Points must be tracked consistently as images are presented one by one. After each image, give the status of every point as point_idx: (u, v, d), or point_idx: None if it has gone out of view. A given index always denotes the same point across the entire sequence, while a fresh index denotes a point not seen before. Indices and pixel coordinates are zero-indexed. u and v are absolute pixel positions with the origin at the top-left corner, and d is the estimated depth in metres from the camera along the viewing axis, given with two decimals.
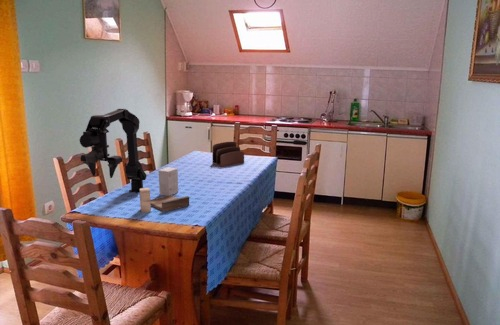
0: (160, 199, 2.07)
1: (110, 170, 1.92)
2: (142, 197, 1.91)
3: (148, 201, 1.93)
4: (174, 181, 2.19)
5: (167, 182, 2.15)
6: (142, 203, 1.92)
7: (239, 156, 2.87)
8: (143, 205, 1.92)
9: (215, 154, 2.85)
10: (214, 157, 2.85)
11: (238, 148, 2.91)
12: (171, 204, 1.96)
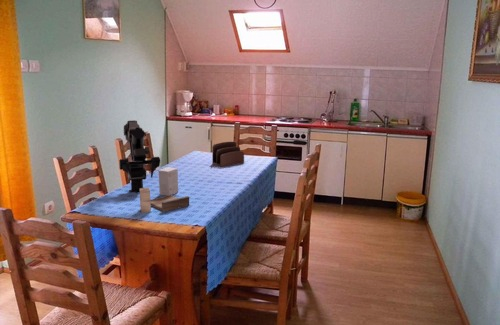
0: (160, 199, 2.07)
1: (152, 169, 2.02)
2: (142, 197, 1.91)
3: (148, 201, 1.93)
4: (174, 181, 2.19)
5: (167, 182, 2.15)
6: (142, 203, 1.92)
7: (239, 156, 2.88)
8: (143, 205, 1.92)
9: (215, 154, 2.86)
10: (214, 157, 2.86)
11: (238, 148, 2.92)
12: (171, 204, 1.96)
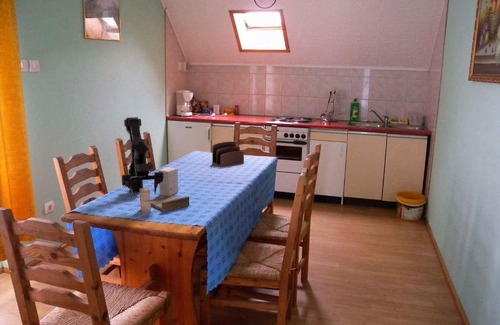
0: (160, 199, 2.07)
1: (155, 184, 1.96)
2: (142, 197, 1.91)
3: (148, 201, 1.93)
4: (174, 181, 2.19)
5: (167, 182, 2.15)
6: (142, 203, 1.92)
7: (239, 156, 2.88)
8: (143, 205, 1.92)
9: (215, 154, 2.86)
10: (214, 157, 2.86)
11: (238, 148, 2.92)
12: (171, 204, 1.96)
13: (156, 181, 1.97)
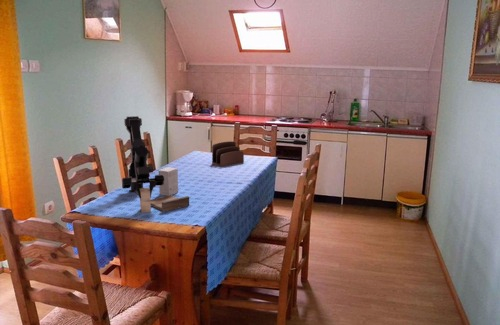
0: (160, 199, 2.07)
1: (151, 188, 1.95)
2: (142, 197, 1.91)
3: (148, 201, 1.93)
4: (174, 181, 2.19)
5: (167, 182, 2.15)
6: (142, 203, 1.92)
7: (239, 156, 2.88)
8: (143, 205, 1.92)
9: (215, 154, 2.86)
10: (214, 157, 2.86)
11: (237, 148, 2.92)
12: (171, 204, 1.96)
13: (151, 185, 1.95)
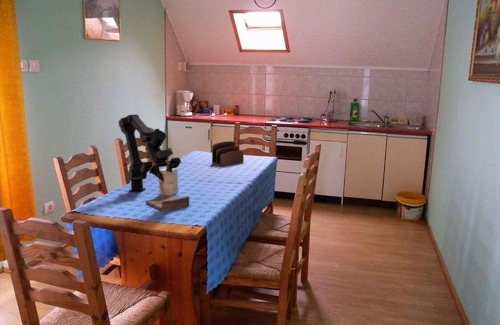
0: (160, 199, 2.07)
1: (171, 170, 1.99)
2: (165, 180, 1.94)
3: (170, 183, 1.97)
4: (174, 181, 2.19)
5: None
6: (165, 185, 1.95)
7: (238, 156, 2.89)
8: (166, 187, 1.96)
9: (215, 154, 2.87)
10: (214, 157, 2.87)
11: (237, 148, 2.93)
12: (171, 204, 1.96)
13: (170, 167, 1.99)
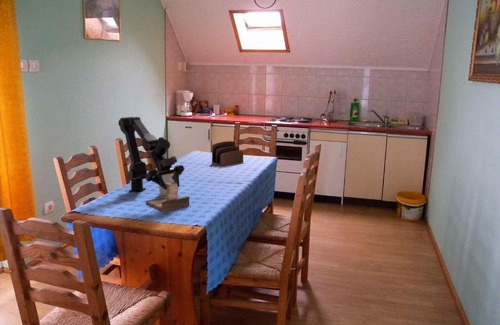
0: (160, 199, 2.07)
1: (177, 178, 2.02)
2: (171, 190, 1.97)
3: (176, 193, 2.00)
4: None
5: None
6: (171, 196, 1.98)
7: (238, 155, 2.89)
8: (172, 198, 1.98)
9: (214, 154, 2.87)
10: (213, 157, 2.87)
11: (237, 147, 2.93)
12: (171, 204, 1.96)
13: (177, 175, 2.03)
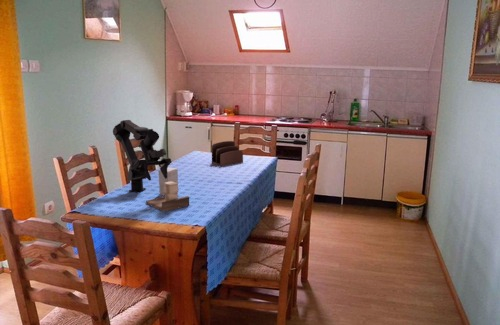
0: (160, 199, 2.07)
1: (166, 170, 2.09)
2: (171, 190, 1.97)
3: (176, 193, 2.00)
4: (174, 181, 2.19)
5: None
6: (171, 196, 1.98)
7: (238, 155, 2.90)
8: (172, 198, 1.98)
9: (214, 153, 2.87)
10: (213, 156, 2.87)
11: (237, 147, 2.94)
12: (171, 204, 1.96)
13: (166, 167, 2.10)
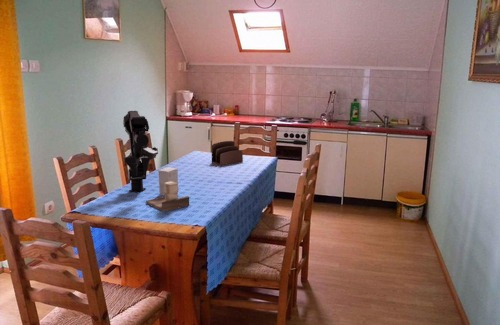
0: (160, 199, 2.07)
1: (148, 164, 2.12)
2: (171, 190, 1.97)
3: (176, 193, 2.00)
4: (174, 181, 2.19)
5: None
6: (171, 196, 1.98)
7: (238, 155, 2.90)
8: (172, 198, 1.98)
9: (214, 153, 2.88)
10: (213, 156, 2.88)
11: (236, 147, 2.94)
12: (171, 204, 1.96)
13: (149, 161, 2.12)
